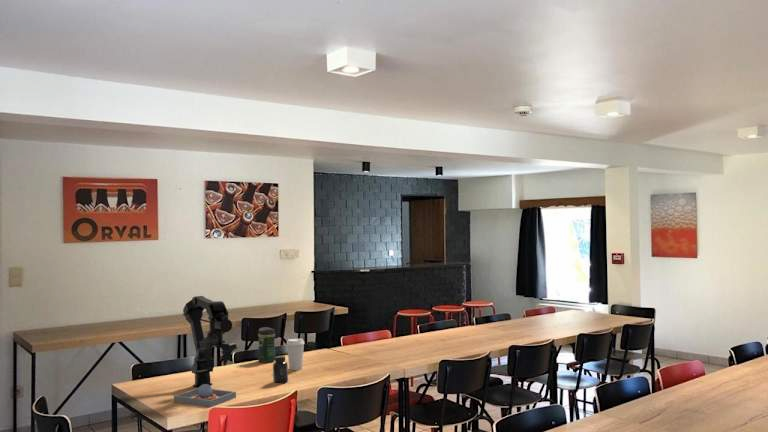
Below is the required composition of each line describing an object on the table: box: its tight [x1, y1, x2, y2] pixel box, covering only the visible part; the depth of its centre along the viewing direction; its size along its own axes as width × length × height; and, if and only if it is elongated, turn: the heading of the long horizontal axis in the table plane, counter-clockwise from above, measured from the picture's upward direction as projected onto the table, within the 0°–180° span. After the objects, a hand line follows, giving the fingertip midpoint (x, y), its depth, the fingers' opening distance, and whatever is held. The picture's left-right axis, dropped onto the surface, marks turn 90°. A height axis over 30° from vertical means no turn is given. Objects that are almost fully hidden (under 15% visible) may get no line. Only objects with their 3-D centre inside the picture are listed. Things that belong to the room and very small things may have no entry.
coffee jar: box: [257, 326, 276, 363], centre depth 354 cm, size 10×8×19 cm
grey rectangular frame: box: [173, 387, 237, 408], centre depth 274 cm, size 20×16×2 cm
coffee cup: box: [285, 338, 305, 371], centre depth 333 cm, size 10×10×15 cm
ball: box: [198, 384, 213, 398], centre depth 275 cm, size 6×6×6 cm
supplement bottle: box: [272, 355, 289, 384], centre depth 304 cm, size 7×7×12 cm
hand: (216, 364), depth 289 cm, fingers open, 9 cm apart
